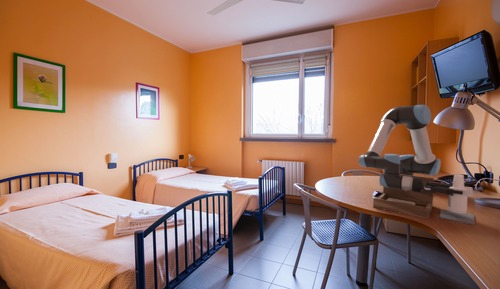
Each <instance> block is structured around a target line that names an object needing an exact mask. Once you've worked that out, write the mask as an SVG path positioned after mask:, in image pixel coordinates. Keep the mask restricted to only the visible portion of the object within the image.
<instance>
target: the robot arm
mask: <svg viewBox="0 0 500 289" xmlns="http://www.w3.org/2000/svg"><path fill="white" fill-rule="evenodd" d="M431 111H432V110H431V109H430V108H429V106H428V105H425V104H416V105H404V106H403V105H401V106H395V107H393V108H391V109H389V110H388V111H387V112H386V113H385V114H384V115H383V116H382V117H381V119H380V121H379V126H378V129H377V130H376V132H375V135H374V137H373V138H372V141H371V143H370V145H369V148H368V149H367V150H366V153H365V154H361V155H360V156H358V164H359V166H360V167H363V168H368V169H369V168H370V169H378V170H383V173H380V174H379V179H378V184H379V186H381V187H388V188H395V189H402V190H405V191H407V190H409V191H411V190H412V191H415V192H421V191H422V189H425V191H429V192H433V193H437V194H442V195H451V196H453V193H454V194H455V195H462V196H468V197H469V198H471V197H472V198H473V197H474V191H473V190H474V189H473V188H474V187H471V186H464V188H465V189H467V190H463V189H455V188H454V190H453V189H451V188H449V187H452V186H453V182H452V183H443V182H435V181H434V182H430V181H429V182H427V183H426V182H422V179H421V178H415V177H414V178H412V177H407V176H400V174H403V175H412V176H415V174H418V175H419V174H420V175H425V176H437V175H438V174H439V172H440V169H441V166H442V164H441V163H442V161H441V159H440V158H437V157H436V154H434V153H433V152H432V148H431V143H430V139H429V134H428V129H427V126H428V125H429V124H430V123H431V121H432V112H431ZM398 125H405V128H406V129H407V130H408V131H409V132H410V136H411V141H412V145H413V149H414V152H415V155H414V154H401V155H400V154H397V153H385V154H384V156H381V155H382V153H383V151H384V148H385V146H386V144H387V142H388V139H389V138H390V135H391V133H392V131H393V130H394V129H395V128H396V127H397V126H398Z"/></svg>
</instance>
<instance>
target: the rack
mask: <svg viewBox="0 0 500 289" xmlns="http://www.w3.org/2000/svg"><path fill="white" fill-rule="evenodd" d="M400 176H407V177H412V178H414V177H415V178H421V179H422V182H426V183H427V182H429V181H430V182H435V180H434V178H435V177H430V176H429V177H428V176H419V175H413V176H412V175H403V174H400ZM382 187H383V186H382ZM382 189H383V192H382V194H380V195H379V196H378V197H373V198H372V199H373V200H372V201H373V202H372V204H373V205H372V207H373V208H375V207H376V209H379V208H380V209H381V210H384V209H385V211H390V212H395V213H398V212H400V213H399V214H403V213H404V214H405V215H409V216H413V217H418V218H422V219H423V218H424V219H427V220H428V219H429V217H430V214H431V212H432V208H433V207H434V192H429V191H425V189H422V191H421V192H415V191H412V190H411V191H409V190H407V191H405V190H402V189H395V188H388V187H383V188H382ZM421 205H422V206H421Z"/></svg>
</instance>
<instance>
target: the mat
mask: <svg viewBox="0 0 500 289" xmlns="http://www.w3.org/2000/svg"><path fill="white" fill-rule="evenodd" d="M439 219H442V220H448V221H451V222H452V221H453V222H457V223H462V224H467V225H471V224H472V226H476V223H475V222H476V221H475V214H472V213H465V214H460V213H454V212H451V211H449V210H448V209H443V208H442V209H440V214H439Z"/></svg>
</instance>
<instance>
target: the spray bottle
mask: <svg viewBox="0 0 500 289" xmlns="http://www.w3.org/2000/svg"><path fill="white" fill-rule="evenodd" d="M452 183H453V186H452V187H449V188H451V189H453V190H454V188H455V189H463V190H467V189H465V188H464V187H465V176H464V175H463V174H459V173H457V174H455V173H454V175H453V179H452ZM447 195H448V194H447ZM447 197H448V198H447V210H449V211H451V212H454V213H460V214H465V213H467V212H468V211H467V210H468V197H469V196H462V195H455V194H454V193H453V196H451V195H448V196H447ZM467 214H468V213H467Z"/></svg>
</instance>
